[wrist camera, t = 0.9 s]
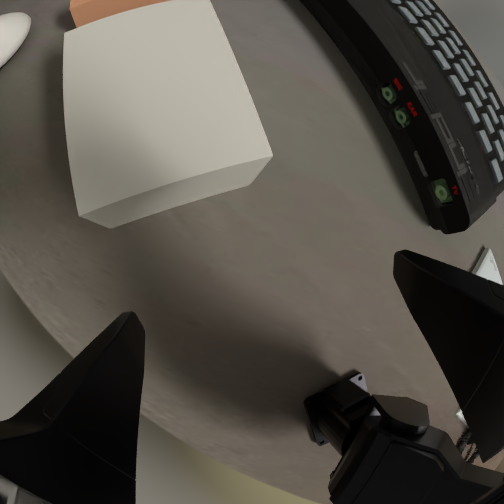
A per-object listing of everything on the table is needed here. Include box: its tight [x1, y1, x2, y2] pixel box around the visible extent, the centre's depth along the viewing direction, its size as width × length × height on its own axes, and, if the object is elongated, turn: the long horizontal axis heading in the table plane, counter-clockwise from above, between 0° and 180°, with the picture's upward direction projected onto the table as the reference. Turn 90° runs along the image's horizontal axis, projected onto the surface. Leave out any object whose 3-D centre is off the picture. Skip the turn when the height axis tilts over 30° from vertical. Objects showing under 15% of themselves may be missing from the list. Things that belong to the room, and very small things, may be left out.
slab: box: [63, 0, 273, 229], centre depth 19 cm, size 16×12×8 cm
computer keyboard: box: [300, 0, 504, 234], centre depth 27 cm, size 45×28×7 cm, turn 26°
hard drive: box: [472, 248, 503, 285], centre depth 30 cm, size 2×8×12 cm
